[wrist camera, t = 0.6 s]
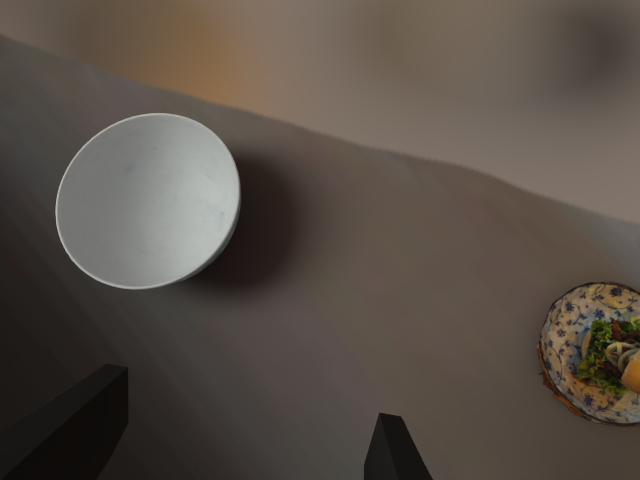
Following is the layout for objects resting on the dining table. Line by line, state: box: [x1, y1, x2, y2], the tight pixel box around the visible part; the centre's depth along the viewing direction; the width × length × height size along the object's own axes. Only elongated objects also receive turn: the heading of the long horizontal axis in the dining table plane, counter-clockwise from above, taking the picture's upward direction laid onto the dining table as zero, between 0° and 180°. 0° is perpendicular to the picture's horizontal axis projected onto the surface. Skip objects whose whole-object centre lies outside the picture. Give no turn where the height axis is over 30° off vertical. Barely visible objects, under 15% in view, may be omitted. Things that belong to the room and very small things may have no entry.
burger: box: [537, 282, 640, 427], centre depth 32 cm, size 12×12×8 cm
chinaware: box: [56, 113, 241, 290], centre depth 36 cm, size 15×15×8 cm
